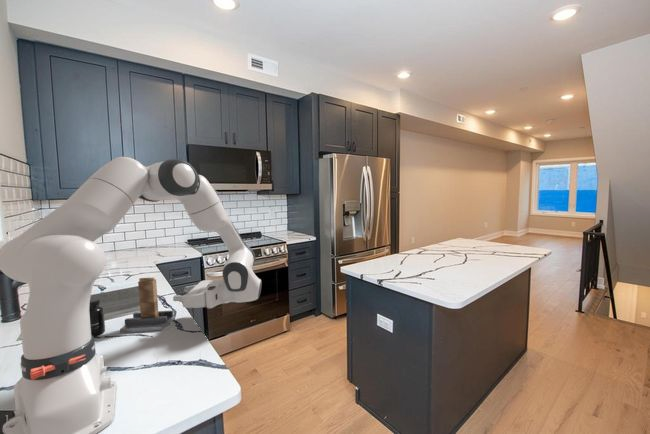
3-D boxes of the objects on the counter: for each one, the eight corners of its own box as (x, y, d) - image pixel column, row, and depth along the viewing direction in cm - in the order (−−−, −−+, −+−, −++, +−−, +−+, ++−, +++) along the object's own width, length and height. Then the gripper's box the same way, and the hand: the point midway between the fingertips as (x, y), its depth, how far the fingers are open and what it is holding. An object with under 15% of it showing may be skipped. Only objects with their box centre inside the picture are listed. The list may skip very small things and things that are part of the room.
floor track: (174, 318, 111) (174, 309, 110) (162, 330, 101) (161, 320, 100) (136, 320, 110) (136, 311, 109) (120, 333, 100) (119, 323, 99)
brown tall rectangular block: (158, 318, 107) (155, 276, 106) (155, 321, 105) (152, 278, 104) (144, 319, 107) (141, 277, 106) (141, 322, 105) (137, 279, 103)
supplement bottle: (91, 340, 95) (88, 305, 94) (74, 338, 96) (71, 303, 96) (110, 330, 102) (107, 297, 101) (94, 329, 103) (92, 296, 102)
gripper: (224, 275, 118) (189, 277, 116) (208, 292, 97) (166, 294, 96) (225, 290, 118) (190, 292, 117) (210, 310, 98) (167, 312, 97)
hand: (179, 293), depth 106 cm, fingers open, 8 cm apart
